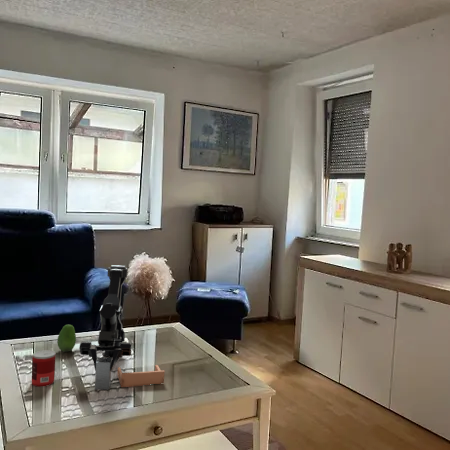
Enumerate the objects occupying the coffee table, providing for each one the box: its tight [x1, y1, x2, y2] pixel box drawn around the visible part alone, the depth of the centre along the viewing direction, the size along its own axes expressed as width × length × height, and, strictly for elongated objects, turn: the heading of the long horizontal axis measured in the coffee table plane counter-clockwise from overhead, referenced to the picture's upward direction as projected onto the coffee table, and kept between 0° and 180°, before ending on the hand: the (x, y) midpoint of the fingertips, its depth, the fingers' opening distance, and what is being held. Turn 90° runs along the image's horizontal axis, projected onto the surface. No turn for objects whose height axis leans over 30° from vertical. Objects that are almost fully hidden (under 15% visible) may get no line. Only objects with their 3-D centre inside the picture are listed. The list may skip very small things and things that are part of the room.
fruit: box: [57, 324, 77, 353], centre depth 206 cm, size 8×8×12 cm
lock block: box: [94, 356, 112, 390], centre depth 172 cm, size 5×5×10 cm
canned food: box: [31, 349, 57, 387], centre depth 172 cm, size 8×8×11 cm
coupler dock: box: [116, 364, 166, 388], centre depth 181 cm, size 12×16×5 cm
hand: (103, 370), depth 170 cm, fingers closed on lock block, 5 cm apart
